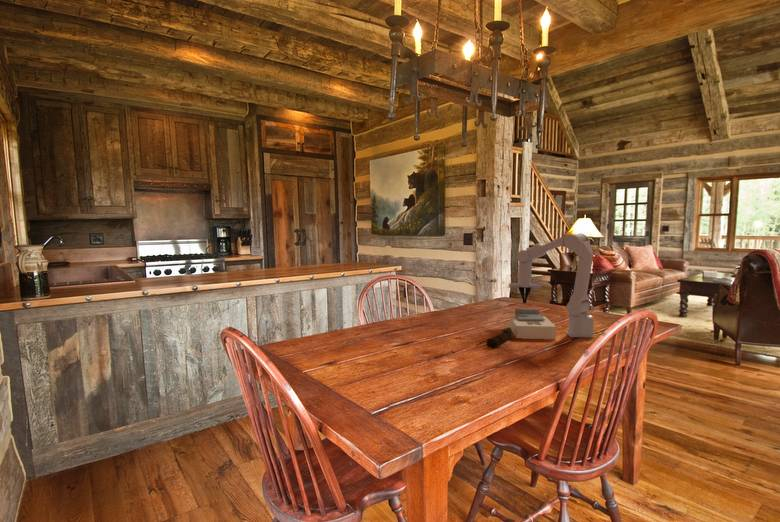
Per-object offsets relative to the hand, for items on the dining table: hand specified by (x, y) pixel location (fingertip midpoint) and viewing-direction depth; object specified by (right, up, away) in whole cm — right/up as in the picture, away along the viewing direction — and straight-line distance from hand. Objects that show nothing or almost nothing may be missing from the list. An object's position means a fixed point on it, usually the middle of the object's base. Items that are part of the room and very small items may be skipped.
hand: (524, 302), depth 192 cm
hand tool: (-19, -14, -26) cm, 35 cm away
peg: (-2, -12, -18) cm, 22 cm away
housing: (-2, -12, -14) cm, 19 cm away
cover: (-1, -6, -10) cm, 11 cm away
